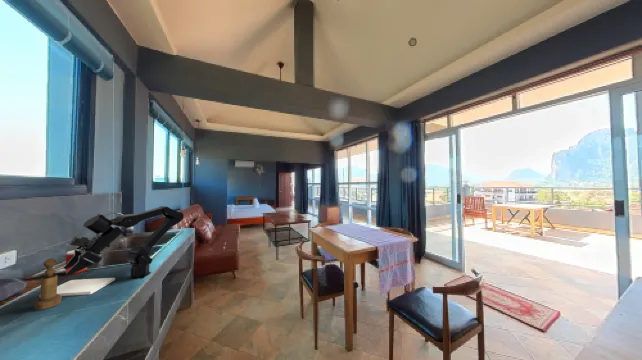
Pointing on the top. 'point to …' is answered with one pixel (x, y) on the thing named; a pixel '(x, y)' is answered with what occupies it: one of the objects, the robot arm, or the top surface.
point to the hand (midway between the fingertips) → (65, 271)
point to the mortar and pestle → (48, 288)
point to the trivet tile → (82, 286)
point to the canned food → (68, 258)
